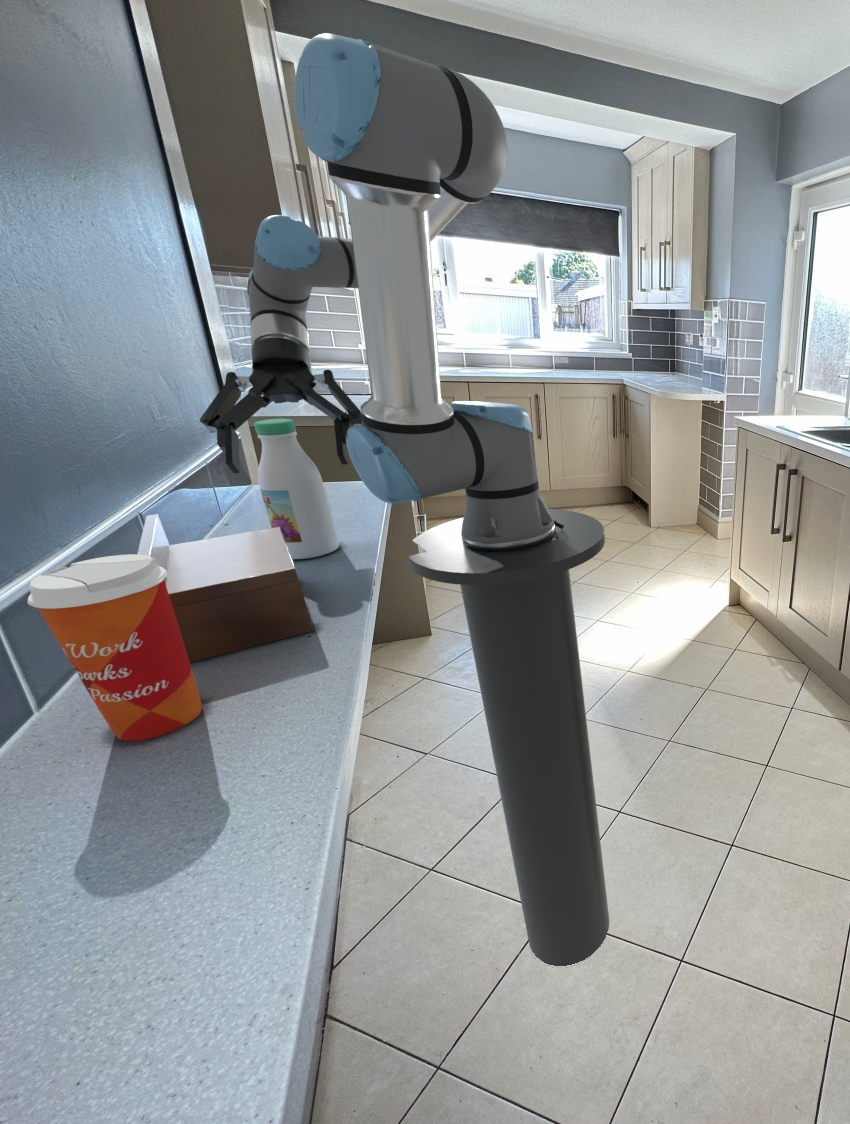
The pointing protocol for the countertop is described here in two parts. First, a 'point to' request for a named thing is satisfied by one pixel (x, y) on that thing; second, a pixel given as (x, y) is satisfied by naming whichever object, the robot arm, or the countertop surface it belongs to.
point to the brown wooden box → (229, 589)
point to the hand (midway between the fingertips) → (289, 464)
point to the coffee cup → (122, 641)
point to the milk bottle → (294, 492)
